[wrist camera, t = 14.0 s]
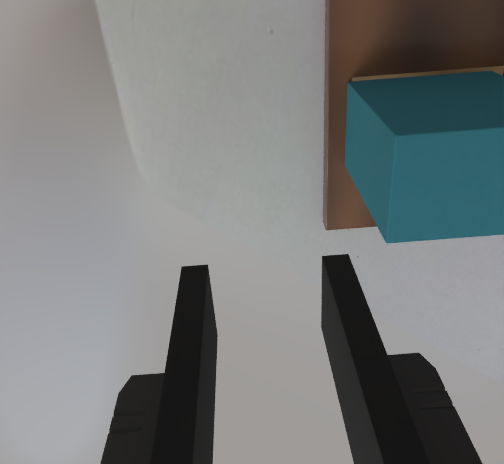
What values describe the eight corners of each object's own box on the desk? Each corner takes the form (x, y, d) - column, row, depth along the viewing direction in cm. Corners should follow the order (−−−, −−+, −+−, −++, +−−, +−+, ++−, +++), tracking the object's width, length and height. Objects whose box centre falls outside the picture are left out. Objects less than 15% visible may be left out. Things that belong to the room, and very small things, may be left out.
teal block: (344, 165, 29) (385, 244, 21) (347, 81, 26) (395, 134, 18) (476, 155, 29) (566, 230, 21) (491, 70, 26) (601, 119, 18)
